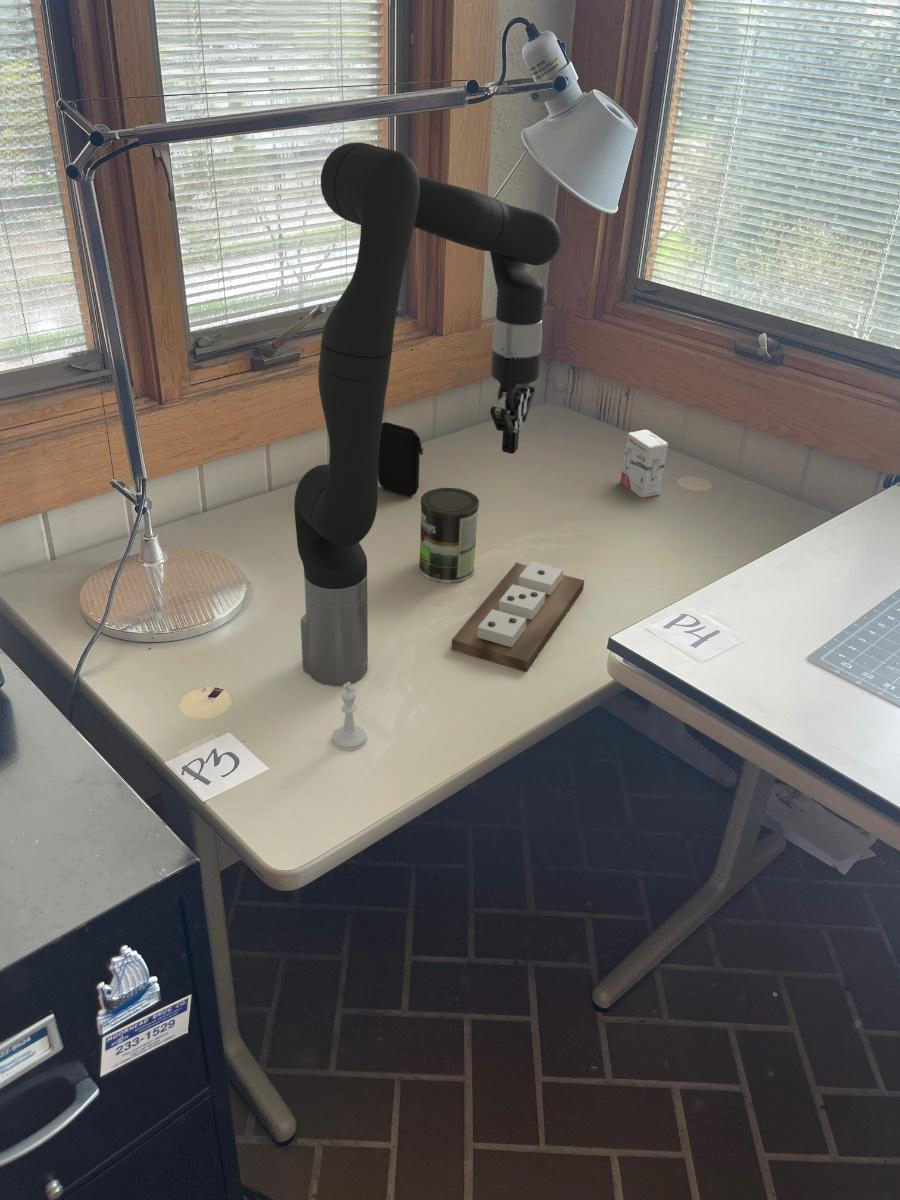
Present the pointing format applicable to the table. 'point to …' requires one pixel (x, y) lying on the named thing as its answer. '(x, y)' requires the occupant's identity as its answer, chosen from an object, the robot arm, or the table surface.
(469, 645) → the tile board
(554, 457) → the table surface
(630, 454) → the ink box
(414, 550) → the table surface
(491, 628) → the tile two
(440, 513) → the coffee can
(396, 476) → the carrying case or bag
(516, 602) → the tile three
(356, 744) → the chess piece
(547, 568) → the tile one
